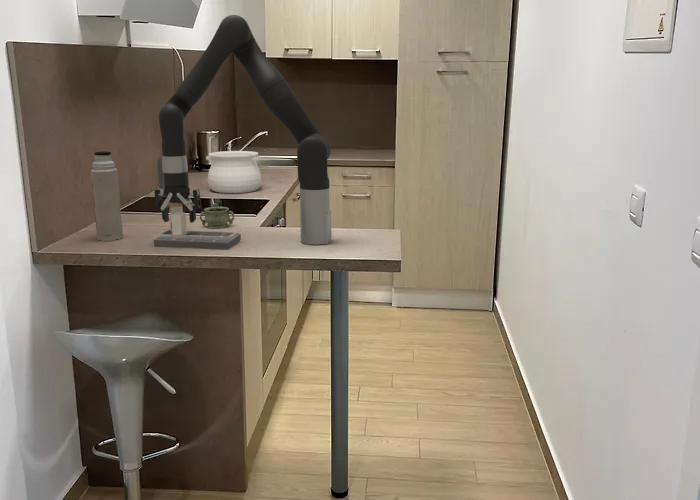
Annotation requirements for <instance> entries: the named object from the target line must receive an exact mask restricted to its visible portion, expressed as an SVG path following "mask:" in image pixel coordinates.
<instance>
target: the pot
mask: <svg viewBox="0 0 700 500" xmlns="http://www.w3.org/2000/svg"><path fill="white" fill-rule="evenodd" d="M205 159H206V160H207V161H211V162H210V164H211V165H210V168H209V170H208V174H207V183H208V187H209V189H211V191H213V192H214V191H215V192H214V193H218V192H219V193H218V194H229V193H234V194H244V193H246V194H247V193H252V192H255V191H257V190H258V189H259V188H260V187H261V186H262V185H261V184H262V183H263V181H262V172H261V170H260V169H259V166H258V163H257V161H261V160H262V156H261V155H259V152H257V151H251V150H248V151H247V150H225V151H214V152H210V153H208V155H206V156H205Z"/></svg>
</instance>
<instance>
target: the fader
mask: <svg viewBox="0 0 700 500" xmlns="http://www.w3.org/2000/svg"><path fill="white" fill-rule="evenodd" d="M171 218H172V233H173V234H172V235H187V234H188V233H187V230H188V229H187V214H186V212H183V213H182V212H176V213H174V214H172V215H171Z"/></svg>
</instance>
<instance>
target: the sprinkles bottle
mask: <svg viewBox="0 0 700 500" xmlns="http://www.w3.org/2000/svg"><path fill="white" fill-rule="evenodd" d="M168 208H169V209H168V213H169V223H170V225H169V226H170V229H169V230H172V218H171V215H172V214H174V213H176V212H182V213H184V211H183V209H184V208H183V203H171V204H170V205H169V206H168Z"/></svg>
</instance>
